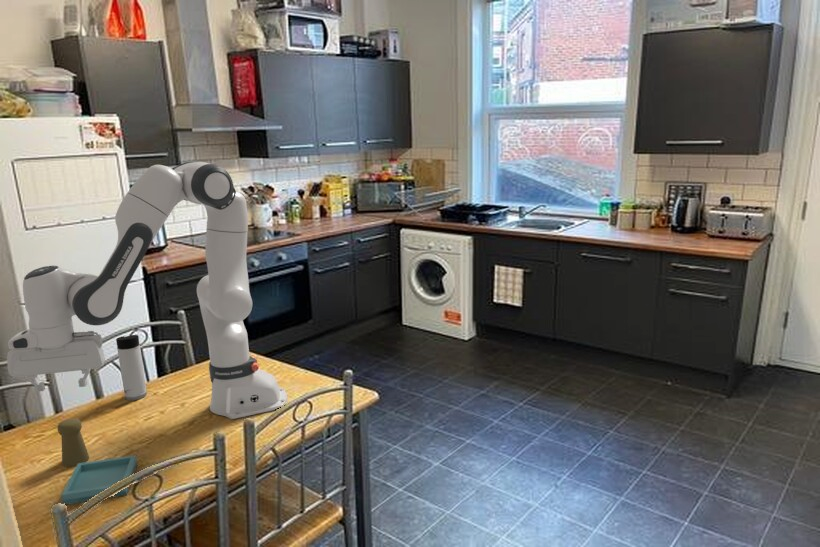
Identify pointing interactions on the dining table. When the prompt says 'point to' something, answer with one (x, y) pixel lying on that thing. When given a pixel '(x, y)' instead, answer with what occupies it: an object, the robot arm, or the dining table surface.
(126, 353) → the travel mug
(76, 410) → the dining table surface
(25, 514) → the dining table surface
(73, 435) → the brown tapered cylinder
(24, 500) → the dining table surface
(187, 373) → the dining table surface
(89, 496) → the tray
